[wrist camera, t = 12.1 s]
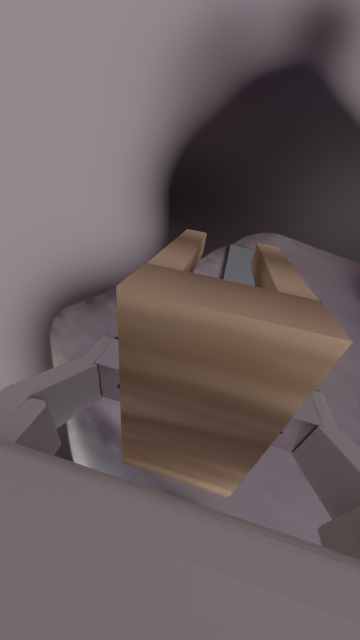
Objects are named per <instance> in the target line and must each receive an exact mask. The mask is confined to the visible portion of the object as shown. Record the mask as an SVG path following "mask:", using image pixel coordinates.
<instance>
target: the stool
mask: <svg viewBox="0 0 360 640" xmlns="http://www.w3.org/2000/svg"><path fill="white" fill-rule="evenodd" d="M205 239H206V233H204V232H199V231H194V230H188V229H187V230H186V231H185V232H183V233H182V234H181V235H180V236H179V237H177V238H176V239H175V240H174V241H173V242H171V243H170V244H169V245H168V246H167V247H165V248H164V249H163V250H162V251H161V252H159V253H158V254H157V255H156V256H155V257H153V258H152V259H151V260H150V261H149V262H147V263H144V264H143V265H142V266H141V267H139V268H138V269H137V270H136V271H135V272H133V273H132V274H131V275H130V276H128V277H127V278H126V279H125V280H123V281H122V282H121V283H120V284H118V285H117V286H116V297H117V324H118V351H119V377H120V404H121V431H122V457H123V463H124V464H127V465H130V466H133V467H136V468H139V469H142V470H145V471H148V472H151V473H154V474H158V475H161V476H164V477H167V478H170V479H173V480H176V481H179V482H182V483H185V484H188V485H191V486H194V487H197V488H200V489H203V490H206V491H209V492H212V493H215V494H218V495H221V496H224V497H227V498H229V497H230V495H231V494H232V493H233V492H234V490H235V489H236V488H237V487H238V485H239V484H240V483H241V481H242V480H243V479H244V478H245V476H246V475H247V474H248V473H249V471H250V470H251V469H252V468H253V466H254V465H255V464H256V463H257V461H258V460H259V459H260V458H261V456H262V455H263V454H264V453H265V451H266V450H267V449H268V448H269V446H270V445H271V444H272V443H273V441H274V440H275V439H276V438H277V436H278V435H279V434H280V433H281V431H282V430H283V429H284V428H285V426H286V425H287V424H288V423H289V421H290V420H291V419H292V418H293V416H294V415H295V414H296V413H297V411H298V410H299V409H300V408H301V406H302V405H303V404H304V403H305V401H306V400H307V399H308V398H309V396H310V395H311V394H312V393H313V391H314V390H315V389H316V388H317V386H318V385H319V384H320V383H321V381H322V380H323V379H324V378H325V376H326V375H327V374H328V373H329V371H330V370H331V369H332V368H333V366H334V365H335V364H336V363H337V361H338V360H339V359H340V358H341V356H342V355H343V354H344V353H345V351H346V350H347V349H348V348H349V346H350V345H351V344H352V343H353V341H352V340H351V339H350V337H349V336H348V335H347V334H346V332H345V331H344V330H343V328H342V327H341V326H340V325H339V323H338V322H337V321H336V320H335V318H334V317H333V316H332V314H331V313H330V312H329V311H328V309H327V308H326V307H325V305H324V304H323V303H322V302H321V301H319V300H318V298H317V297H316V296H315V294H314V293H313V292H312V291H311V289H310V288H309V287H308V285H307V284H306V283H305V282H304V280H303V279H302V278H301V276H300V275H299V274H298V272H297V271H296V270H295V269H294V267H293V266H292V265H291V263H290V262H289V261H288V259H287V258H286V257H285V256H284V254H283V253H282V252H281V250H280V249H279V248H278V247H276V246H271V245H266V244H260V243H257V244H256V247H255V250H254V253H253V256H252V259H251V262H250V264H251V269H252V273H253V278H254V282H255V286H250V285H246V284H241V283H237V282H232V281H227V280H223V279H218V278H214V277H209V276H204V275H200V274H195V273H193V271H194V269H195V267H196V265H197V263H198V261H199V259H200V257H201V255H202V253H203V249H204V243H205Z"/></svg>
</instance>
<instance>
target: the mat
mask: <svg viewBox="0 0 360 640" xmlns="http://www.w3.org/2000/svg"><path fill="white" fill-rule="evenodd" d="M253 253H254V250H253V249H249V248H244V247H240V246H236V245H230V248H229V252H228V257H227V262H226V267H225V271H224V276H223V280H227V281H232V282H237V283H241V284H246V285H250V286H255V282H254V278H253V273H252V269H251V264H250V262H251V259H252V256H253ZM286 258H287V259H288V261H289V262H290V263H291V258H288V257H286Z"/></svg>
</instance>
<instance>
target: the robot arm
mask: <svg viewBox="0 0 360 640" xmlns="http://www.w3.org/2000/svg"><path fill="white" fill-rule="evenodd" d="M101 397H105V398H109V399H113V400H117V401H120V377H119V351H118V337H114V336H110V335H107V334H105V335H103V336H102V337H101V338H100V339H99V340H98V341H97V342H96V343H95V344H94V345H93V346H92V348H91V349H90V350H89V351H88V352H87V353H86V354H85V355H84V356H83V357H82V359H81V360H79V359H75V360H73V361H70V362H68V363H65V364H63V365H60V366H58V367H55V368H53V369H50V370H48V371H45V372H43V373H40V374H38V375H35V376H33V377H30V378H28V379H25V380H23V381H20V382H18V383H15V384H13V385H10V386H8V387H5V388H4V389H3V390H2V391H0V640H360V448H359V447H358V446H357V445H356V444H355V443H354V442H353V441H352V440H351V439H350V438H349V437H348V436H347V435H346V434H345V433H342V432H340V431H339V428H338V426H337V424H336V422H335V419H334V417H333V415H332V413H331V410H330V408H329V406H328V404H327V401H326V399H325V397H324V395H323V393H322V392H321V391H320V390H319V389H315V390H314V391H313V393H312V394H311V395H310V396H309V398H308V399H307V400H306V401H305V403H304V404H303V405H302V406H301V408H300V409H299V410H298V411H297V413H296V414H295V415H294V416H293V418H292V419H291V420H290V421H289V423H288V424H287V425H286V426H285V428H284V429H283V430H282V431H281V433H280V434H279V435H278V436H277V438H276V439H275V440H274V441H273V443H272V444H271V445H270V446H273V447H276V448H279V449H282V450H285V451H288V452H291V453H292V455H293V457H294V458H295V460H296V462H297V463H298V465H299V466H300V468H301V470H302V471H303V473H304V475H305V476H306V478H307V479H308V481H309V483H310V484H311V486H312V488H313V489H314V491H315V492H316V494H317V496H318V497H319V499H320V500H321V502H322V504H323V505H324V507H325V509H326V510H327V512H328V513H329V515H330V517H331V518H332V520H331V521H329V522H327V523H325V524H323V525H321V526H320V527H319V529H318V532H319V536H320V540H321V544H322V546H320V545H317V544H314V543H311V542H308V541H305V540H302V539H299V538H296V537H293V536H290V535H287V534H284V533H281V532H278V531H275V530H272V529H269V528H266V527H263V526H260V525H257V524H254V523H251V522H248V521H246V520H243V519H240V518H237V517H234V516H231V515H228V514H225V513H222V512H219V511H216V510H213V509H210V508H207V507H204V506H201V505H198V504H195V503H192V502H189V501H186V500H183V499H180V498H177V497H174V496H171V495H168V494H166V493H163V492H160V491H157V490H154V489H151V488H148V487H145V486H142V485H139V484H136V483H133V482H130V481H127V480H124V479H121V478H118V477H115V476H112V475H109V474H106V473H103V472H100V471H97V470H94V469H91V468H88V467H85V466H83V465H80V464H77V463H74V462H70V461H68V460H65V459H62V458H59V457H56V456H54V454H55V453H56V451H57V450H58V448H59V447H60V445H61V444H60V439H59V436H58V434H57V431H56V428H58V427H59V426H61V425H62V424H64V423H65V422H67V421H68V420H70V419H71V418H72V417H74V416H75V415H77V414H78V413H80V412H81V411H83V410H84V409H86V408H87V407H89V406H90V405H92V404H93V403H94V402H96V401H97V400H99V399H100V398H101Z"/></svg>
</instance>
